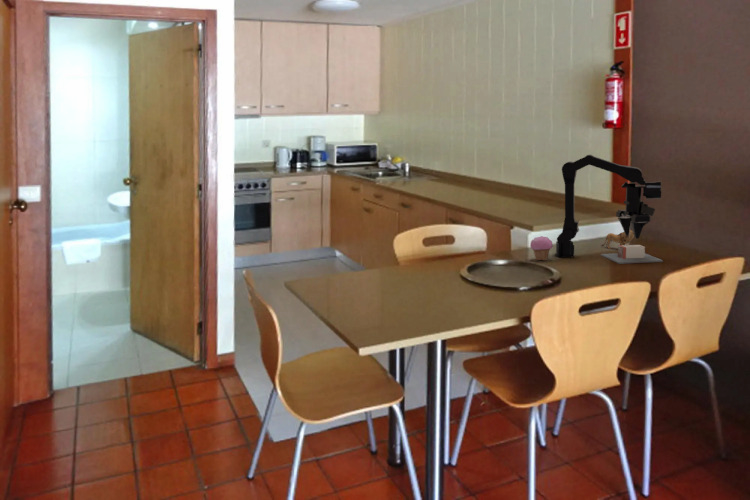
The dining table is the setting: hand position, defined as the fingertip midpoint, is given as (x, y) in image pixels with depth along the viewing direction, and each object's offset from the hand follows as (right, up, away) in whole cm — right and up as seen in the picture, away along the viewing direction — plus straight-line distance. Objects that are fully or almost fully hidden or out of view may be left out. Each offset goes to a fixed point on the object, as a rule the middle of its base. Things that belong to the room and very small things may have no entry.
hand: (632, 236), depth 273 cm
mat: (0, -9, +2) cm, 9 cm away
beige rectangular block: (0, -8, +2) cm, 9 cm away
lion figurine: (+3, -5, +23) cm, 24 cm away
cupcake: (-36, -10, +4) cm, 38 cm away
